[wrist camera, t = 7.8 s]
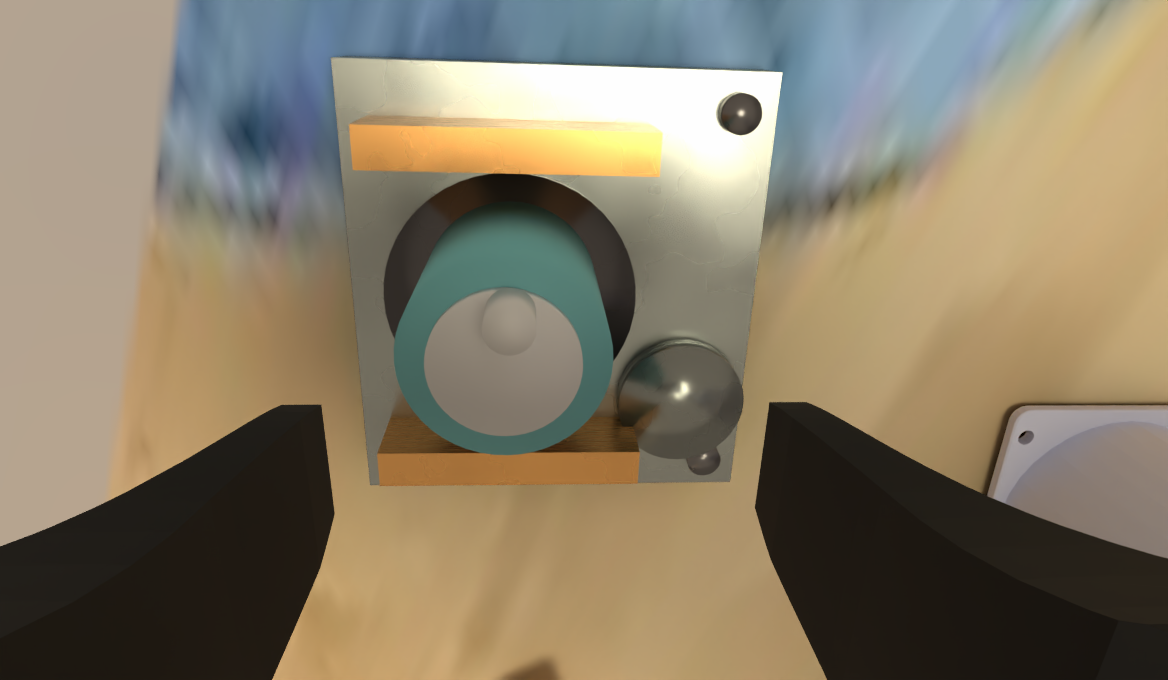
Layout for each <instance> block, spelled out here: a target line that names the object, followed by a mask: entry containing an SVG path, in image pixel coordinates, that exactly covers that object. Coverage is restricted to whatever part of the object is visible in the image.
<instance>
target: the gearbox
mask: <svg viewBox="0 0 1168 680" xmlns="http://www.w3.org/2000/svg"><path fill="white" fill-rule="evenodd" d="M331 63H332V74H333V85H334V96H335V107H336V118H337V129H338V139H339V150H340V161H341V172H342V183H343V194H344V205H345V216H346V227H347V238H348V249H349V259H350V270H351V281H352V292H353V303H354V314H355V325H356V336H357V347H358V358H359V369H360V379H361V390H362V401H363V412H364V423H365V434H366V445H367V456H368V467H369V478H370V485H380V486H419V485H526V484H632V483H656V482H730V477H731V470H732V462H733V454H734V446H735V438H736V431H737V423H738V421H739V418H740V415H741V413H742V408H743V389H742V384H743V376H744V368H745V360H746V352H747V345H748V337H749V329H750V321H751V313H752V306H753V298H754V290H755V282H756V274H757V267H758V259H759V251H760V243H761V235H762V227H763V220H764V212H765V204H766V196H767V188H768V181H769V173H770V165H771V157H772V149H773V142H774V134H775V126H776V118H777V110H778V103H779V95H780V87H781V79H782V72H776V71H769V70H755V69H725V68H695V67H665V66H634V65H604V64H574V63H544V62H514V61H484V60H453V59H423V58H393V57H363V56H340V57H332V58H331ZM508 201H511V202H523V203H528V204H533V205H536V206H539V207H542V208H544V209H546V210H548V211H550V212H552V213H554V214H556V215H557V216H559V217H560V218H562V219H563V220H564V221H565V222H567V223H568V224H569V225H570V226H571V227H572V228H573V229H574V230H575V231H576V233H577V234H578V235H579V236H580V238H581V239H582V241H583V242H584V244H585V246H586V248H587V250H588V252H589V254H590V257H591V260H592V263H593V267H594V271H595V275H596V279H597V283H598V286H599V290H600V294H601V298H602V302H603V306H604V310H605V314H606V318H607V322H608V326H609V330H610V334H611V339H612V345H613V368H612V375H611V379H610V383H609V386H608V389H607V391H606V393H605V396H604V398H603V400H602V401H601V403H600V405H599V407H598V408H597V410H596V411H595V412H594V414H593V415H592V416H591V417H590V419H589V420H588V421H587V422H586V423H585V424H584V425H583V426H582V427H581V428H579V429H578V430H577V431H576V432H574V433H573V434H572V435H570V436H569V437H567V438H565V439H564V440H562V441H560V442H559V443H556V444H554V445H552V446H550V447H547V448H544V449H541V450H538V451H535V452H530V453H525V454H518V455H492V454H485V453H479V452H476V451H472V450H468V449H465V448H463V447H460V446H458V445H455V444H453V443H451V442H449V441H448V440H446V439H444V438H442V437H441V436H439V435H438V434H437V433H435V432H434V431H432V430H431V429H430V428H429V427H428V426H427V425H425V424H424V423H423V422H422V421H421V420H420V419H419V417H418V416H417V415H416V414H415V413H414V412H413V410H412V409H411V407H410V406H409V404H408V403H407V401H406V399H405V397H404V395H403V393H402V391H401V389H400V386H399V383H398V380H397V377H396V372H395V366H394V342H395V335H396V332H397V328H398V325H399V322H400V319H401V317H402V315H403V313H404V311H405V308H406V306H407V304H408V302H409V300H410V298H411V296H412V294H413V291H414V289H415V287H416V285H417V283H418V281H419V279H420V277H421V274H422V272H423V270H424V268H425V266H426V264H427V262H428V260H429V257H430V255H431V253H432V251H433V249H434V247H435V245H436V243H437V241H438V240H439V238H440V237H441V235H442V234H443V233H444V231H445V230H446V229H447V228H448V227H449V226H450V225H451V224H452V223H453V222H454V221H455V220H456V219H458V218H459V217H461V216H462V215H464V214H465V213H467V212H469V211H471V210H473V209H475V208H478V207H480V206H483V205H486V204H491V203H496V202H508Z"/></svg>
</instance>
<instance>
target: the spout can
mask: <svg viewBox="0 0 1168 680" xmlns="http://www.w3.org/2000/svg"><path fill="white" fill-rule="evenodd" d="M394 366H395V372H396V377H397V380H398V383H399V386H400V389H401V391H402V393H403V395H404V397H405V399H406V401H407V403H408V404H409V406H410V407H411V409H412V410H413V412H414V413H415V414H416V415H417V416H418V417H419V419H420V420H421V421H422V422H423V423H424V424H425V425H427V426H428V427H429V428H430V429H431V430H432V431H434V432H435V433H437V434H438V435H439V436H441V437H442V438H444V439H446V440H448V441H449V442H451V443H453V444H455V445H458V446H460V447H463V448H465V449H468V450H472V451H476V452H479V453H485V454H492V455H518V454H525V453H530V452H535V451H538V450H541V449H544V448H547V447H550V446H552V445H554V444H556V443H559V442H560V441H562V440H564V439H565V438H567V437H569V436H570V435H572V434H573V433H574V432H576V431H577V430H578V429H579V428H581V427H582V426H583V425H584V424H585V423H586V422H587V421H588V420H589V419H590V417H591V416H592V415H593V414H594V412H595V411H596V410H597V408H598V407H599V405H600V403H601V401H602V400H603V398H604V396H605V393H606V391H607V389H608V386H609V383H610V379H611V375H612V368H613V345H612V339H611V334H610V330H609V326H608V322H607V318H606V314H605V310H604V306H603V302H602V298H601V294H600V290H599V286H598V283H597V279H596V275H595V271H594V267H593V263H592V260H591V257H590V254H589V252H588V250H587V248H586V246H585V244H584V242H583V241H582V239H581V238H580V236H579V235H578V234H577V233H576V231H575V230H574V229H573V228H572V227H571V226H570V225H569V224H568V223H567V222H565V221H564V220H563V219H562V218H560V217H559V216H557V215H556V214H554V213H552V212H550V211H548V210H546V209H544V208H542V207H539V206H536V205H533V204H528V203H523V202H511V201H508V202H496V203H491V204H486V205H483V206H480V207H478V208H475V209H473V210H471V211H469V212H467V213H465V214H464V215H462V216H461V217H459V218H458V219H456V220H455V221H454V222H453V223H452V224H451V225H450V226H449V227H448V228H447V229H446V230H445V231H444V233H443V234H442V235H441V237H440V238H439V240H438V241H437V243H436V245H435V247H434V249H433V251H432V253H431V255H430V257H429V260H428V262H427V264H426V266H425V268H424V270H423V272H422V274H421V277H420V279H419V281H418V283H417V285H416V287H415V289H414V291H413V294H412V296H411V298H410V300H409V302H408V304H407V306H406V308H405V311H404V313H403V315H402V317H401V319H400V322H399V325H398V328H397V332H396V335H395V342H394Z"/></svg>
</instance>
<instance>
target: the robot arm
mask: <svg viewBox="0 0 1168 680" xmlns="http://www.w3.org/2000/svg"><path fill="white" fill-rule="evenodd" d="M1024 431H1026V433H1025V435H1024V436H1022V437H1021V438H1018V437H1019V436H1020V434H1021V433H1023V432H1024ZM755 509H756V512H757V516H758V519H759V523H760V526H761V530H762V533H763V537H764V540H765V543H766V546H767V549H768V552H769V555H770V558H771V561H772V563H773V565H774V568H775V570H776V572H777V574H778V576H779V578H780V581H781V583H782V585H783V587H784V589H785V591H786V594H787V596H788V598H789V600H790V602H791V604H792V606H793V608H794V611H795V613H796V615H797V617H798V619H799V621H800V623H801V625H802V627H803V629H804V631H805V634H806V636H807V638H808V640H809V642H810V644H811V646H812V648H813V650H814V652H815V655H816V657H817V659H818V661H819V663H820V665H821V667H822V669H823V671H824V673H825V676H826V678H827V680H1168V405H1067V406H1022V407H1020V408H1018V409H1016V410H1015V411H1014V412H1013V413H1012V414H1011V416H1010V418H1009V421H1008V425H1007V428H1006V432H1005V435H1004V439H1003V442H1002V445H1001V449H1000V452H999V456H998V459H997V463H996V466H995V470H994V473H993V477H992V480H991V484H990V487H989V491H988V494H987V496H986V495H984V494H981V493H979V492H977V491H975V490H973V489H970V488H968V487H966V486H964V485H962V484H960V483H958V482H956V481H954V480H952V479H950V478H948V477H946V476H944V475H942V474H940V473H938V472H936V471H934V470H932V469H930V468H928V467H926V466H924V465H922V464H920V463H918V462H916V461H915V460H913V459H911V458H909V457H907V456H905V455H903V454H902V453H900V452H898V451H896V450H894V449H893V448H891V447H889V446H887V445H885V444H884V443H882V442H880V441H878V440H877V439H875V438H873V437H871V436H870V435H868V434H866V433H864V432H863V431H861V430H859V429H857V428H856V427H854V426H852V425H850V424H848V423H847V422H845V421H843V420H841V419H840V418H838V417H836V416H834V415H832V414H830V413H828V412H827V411H825V410H823V409H821V408H818V407H816V406H814V405H812V404H809V403H807V402H770V403H769V411H768V418H767V425H766V432H765V439H764V447H763V454H762V461H761V468H760V476H759V483H758V490H757V497H756V504H755ZM334 514H335V513H334V505H333V497H332V489H331V481H330V473H329V464H328V456H327V448H326V440H325V432H324V423H323V415H322V407H321V405H281V406H278V407H276V408H274V409H272V410H270V411H268V412H266V413H264V414H262V415H260V416H259V417H257V418H255V419H253V420H252V421H250V422H248V423H247V424H245V425H243V426H242V427H240V428H238V429H237V430H235V431H233V432H232V433H230V434H228V435H227V436H225V437H223V438H222V439H220V440H218V441H217V442H215V443H213V444H211V445H210V446H208V447H206V448H205V449H203V450H201V451H200V452H198V453H196V454H195V455H193V456H191V457H190V458H188V459H186V460H184V461H183V462H181V463H179V464H177V465H175V466H173V467H172V468H170V469H168V470H166V471H164V472H162V473H161V474H159V475H157V476H155V477H153V478H151V479H150V480H148V481H146V482H144V483H142V484H140V485H139V486H137V487H135V488H133V489H131V490H129V491H128V492H126V493H124V494H122V495H120V496H118V497H116V498H114V499H112V500H109V501H107V502H105V503H103V504H101V505H99V506H97V507H95V508H93V509H91V510H88V511H86V512H84V513H82V514H79V515H77V516H75V517H73V518H70V519H68V520H66V521H64V522H61V523H59V524H57V525H55V526H52V527H50V528H47V529H45V530H42V531H40V532H38V533H35V534H33V535H30V536H27V537H24V538H22V539H19V540H17V541H14V542H11V543H8V544H6V545H3V546H0V680H272V679H273V676H274V674H275V672H276V669H277V667H278V665H279V662H280V660H281V658H282V656H283V653H284V651H285V649H286V646H287V644H288V642H289V640H290V637H291V635H292V633H293V630H294V628H295V626H296V623H297V621H298V619H299V617H300V614H301V612H302V610H303V607H304V605H305V603H306V600H307V598H308V596H309V593H310V591H311V589H312V586H313V584H314V581H315V579H316V577H317V574H318V572H319V569H320V566H321V563H322V559H323V556H324V552H325V549H326V545H327V541H328V538H329V534H330V530H331V526H332V522H333V518H334Z"/></svg>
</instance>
